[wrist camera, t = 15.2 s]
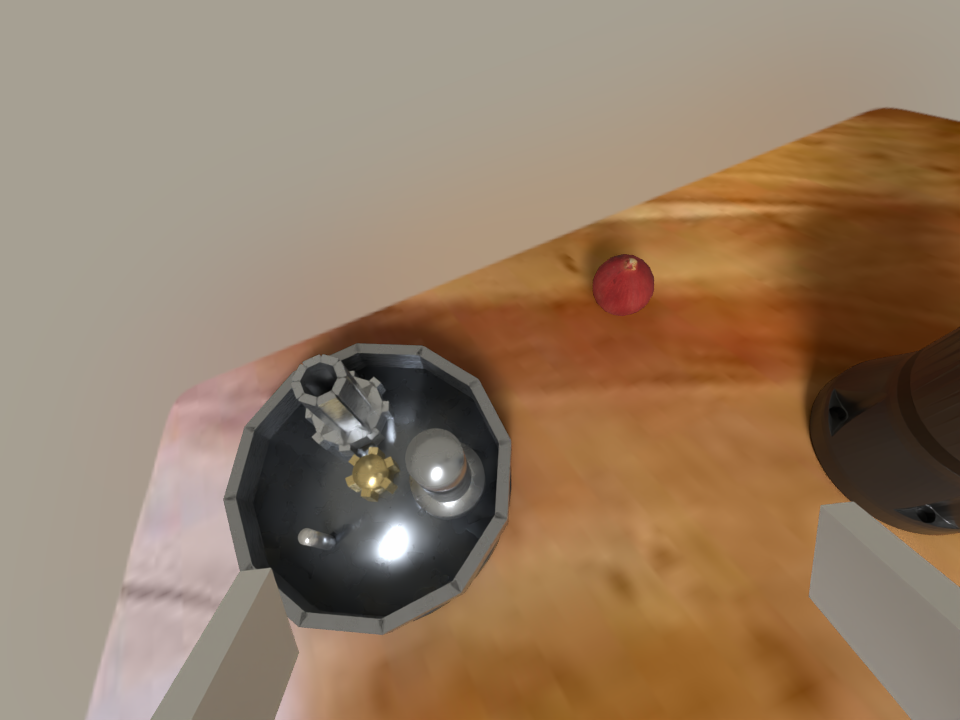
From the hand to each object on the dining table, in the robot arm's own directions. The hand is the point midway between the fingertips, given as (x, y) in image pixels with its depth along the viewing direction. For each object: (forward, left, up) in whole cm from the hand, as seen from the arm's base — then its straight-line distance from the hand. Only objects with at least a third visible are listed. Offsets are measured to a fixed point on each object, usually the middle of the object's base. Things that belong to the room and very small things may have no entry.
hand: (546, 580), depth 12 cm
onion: (-21, -20, -32) cm, 43 cm away
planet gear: (+8, -20, -30) cm, 37 cm away
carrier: (+8, -14, -32) cm, 35 cm away
